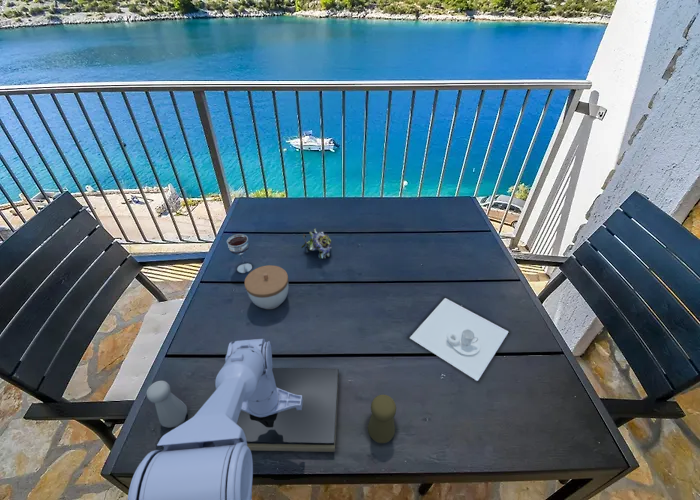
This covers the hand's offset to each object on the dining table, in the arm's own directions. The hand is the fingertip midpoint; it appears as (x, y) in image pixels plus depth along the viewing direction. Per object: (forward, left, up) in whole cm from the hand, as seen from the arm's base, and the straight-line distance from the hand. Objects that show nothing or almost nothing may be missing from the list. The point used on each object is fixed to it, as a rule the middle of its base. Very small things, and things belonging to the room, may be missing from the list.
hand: (270, 422), depth 72 cm
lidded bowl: (+30, +28, -7) cm, 42 cm away
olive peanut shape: (+13, -19, -7) cm, 24 cm away
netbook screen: (+5, +3, -4) cm, 7 cm away
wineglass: (+37, +46, -7) cm, 60 cm away
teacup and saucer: (+47, -26, -7) cm, 55 cm away
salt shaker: (-9, +22, -7) cm, 24 cm away
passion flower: (+56, +29, -7) cm, 64 cm away
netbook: (+5, +3, -7) cm, 9 cm away
